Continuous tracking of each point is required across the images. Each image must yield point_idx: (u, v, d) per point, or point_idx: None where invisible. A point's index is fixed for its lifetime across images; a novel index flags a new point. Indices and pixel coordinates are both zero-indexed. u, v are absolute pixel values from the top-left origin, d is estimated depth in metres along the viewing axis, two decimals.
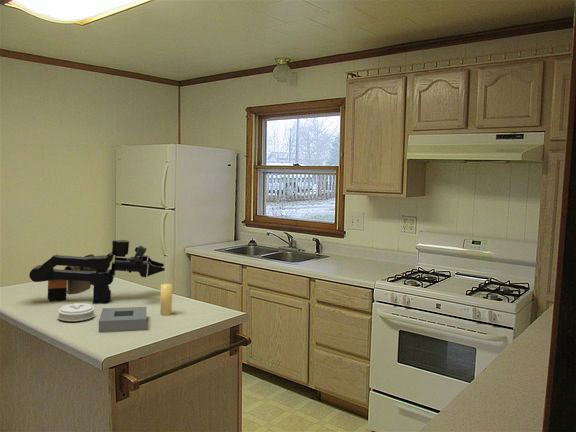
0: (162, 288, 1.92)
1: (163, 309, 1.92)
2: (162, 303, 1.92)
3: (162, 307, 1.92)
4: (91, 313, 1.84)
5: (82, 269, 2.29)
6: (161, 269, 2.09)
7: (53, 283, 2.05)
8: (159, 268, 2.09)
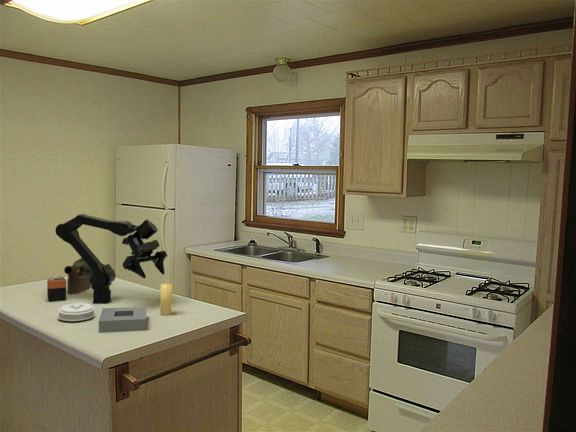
0: (162, 288, 1.92)
1: (163, 309, 1.92)
2: (162, 303, 1.92)
3: (162, 307, 1.92)
4: (91, 313, 1.85)
5: (82, 269, 2.29)
6: (142, 275, 1.95)
7: (53, 283, 2.05)
8: (141, 273, 1.95)
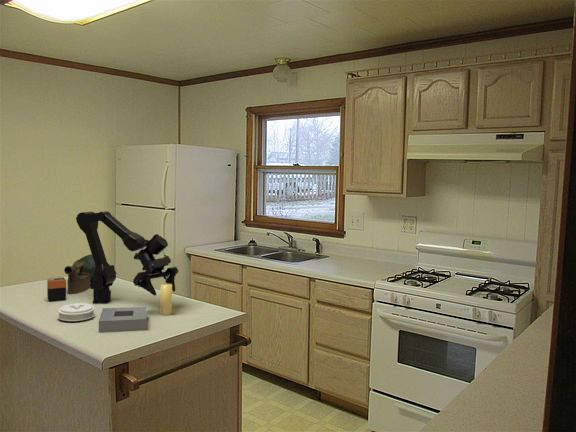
0: (162, 288, 1.92)
1: (163, 309, 1.92)
2: (162, 303, 1.92)
3: (162, 307, 1.92)
4: (91, 313, 1.84)
5: (82, 269, 2.29)
6: (152, 292, 1.91)
7: (52, 283, 2.05)
8: (151, 290, 1.91)
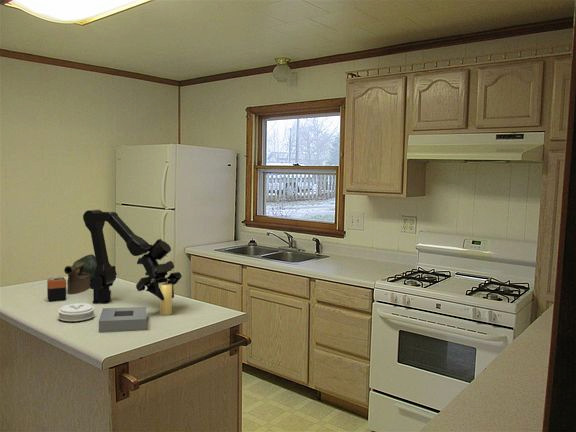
0: (162, 288, 1.92)
1: (163, 309, 1.92)
2: (162, 303, 1.92)
3: (162, 307, 1.92)
4: (91, 313, 1.85)
5: (82, 269, 2.29)
6: (160, 297, 1.91)
7: (53, 283, 2.05)
8: (159, 294, 1.91)
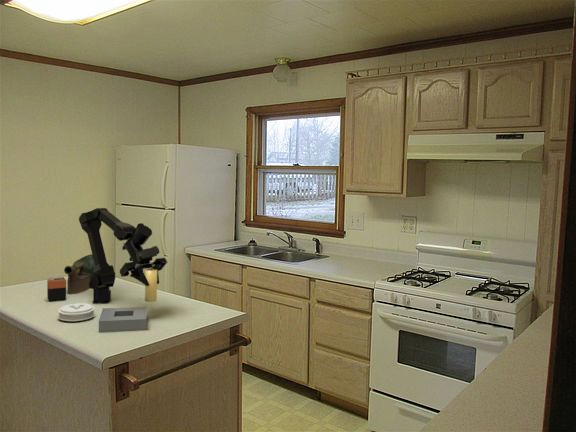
0: (147, 273, 1.86)
1: (148, 295, 1.86)
2: (147, 289, 1.86)
3: (147, 293, 1.86)
4: (91, 313, 1.85)
5: (82, 269, 2.29)
6: (145, 282, 1.85)
7: (53, 283, 2.05)
8: (144, 280, 1.85)
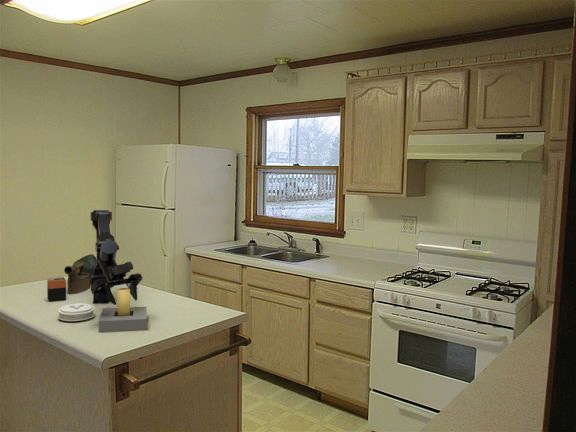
0: (119, 293, 1.78)
1: None
2: (119, 309, 1.78)
3: (119, 314, 1.78)
4: (91, 313, 1.85)
5: (82, 269, 2.29)
6: (112, 301, 1.75)
7: (52, 283, 2.05)
8: (111, 299, 1.75)
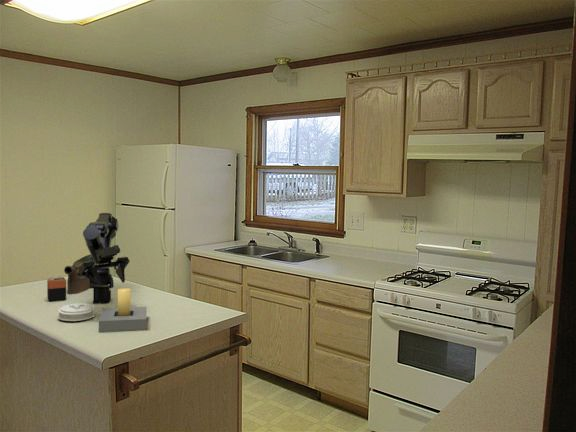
0: (119, 293, 1.77)
1: None
2: (119, 309, 1.78)
3: (119, 314, 1.78)
4: (91, 313, 1.85)
5: None
6: (99, 283, 1.82)
7: (53, 283, 2.05)
8: (98, 280, 1.82)
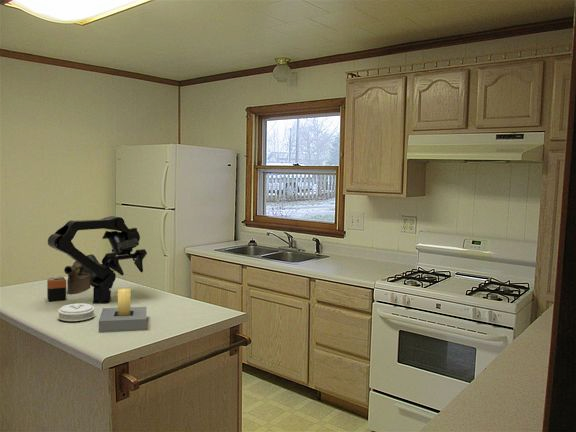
0: (119, 293, 1.77)
1: None
2: (119, 309, 1.78)
3: (119, 314, 1.78)
4: (91, 313, 1.85)
5: (82, 269, 2.29)
6: (120, 272, 2.00)
7: (52, 283, 2.05)
8: (119, 270, 2.00)
